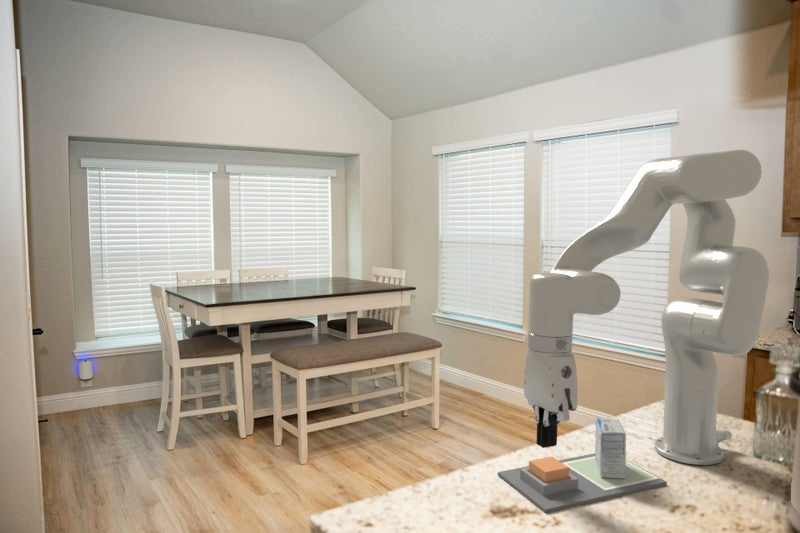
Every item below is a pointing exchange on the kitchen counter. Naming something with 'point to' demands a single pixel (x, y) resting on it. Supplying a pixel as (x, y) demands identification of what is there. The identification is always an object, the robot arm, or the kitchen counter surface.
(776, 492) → the kitchen counter surface
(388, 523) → the kitchen counter surface
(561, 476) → the button
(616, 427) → the medicine box
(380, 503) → the kitchen counter surface
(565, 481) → the activity board
